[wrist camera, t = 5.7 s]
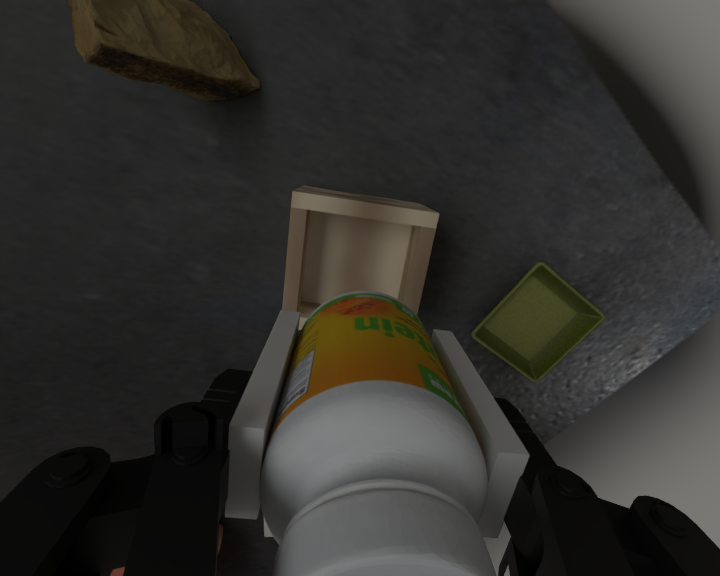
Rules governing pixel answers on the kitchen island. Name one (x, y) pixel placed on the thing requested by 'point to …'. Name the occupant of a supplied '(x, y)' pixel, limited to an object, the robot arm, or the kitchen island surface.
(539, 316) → the green tray
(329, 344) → the supplement bottle
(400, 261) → the wooden crate
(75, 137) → the kitchen island surface
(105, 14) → the rock
